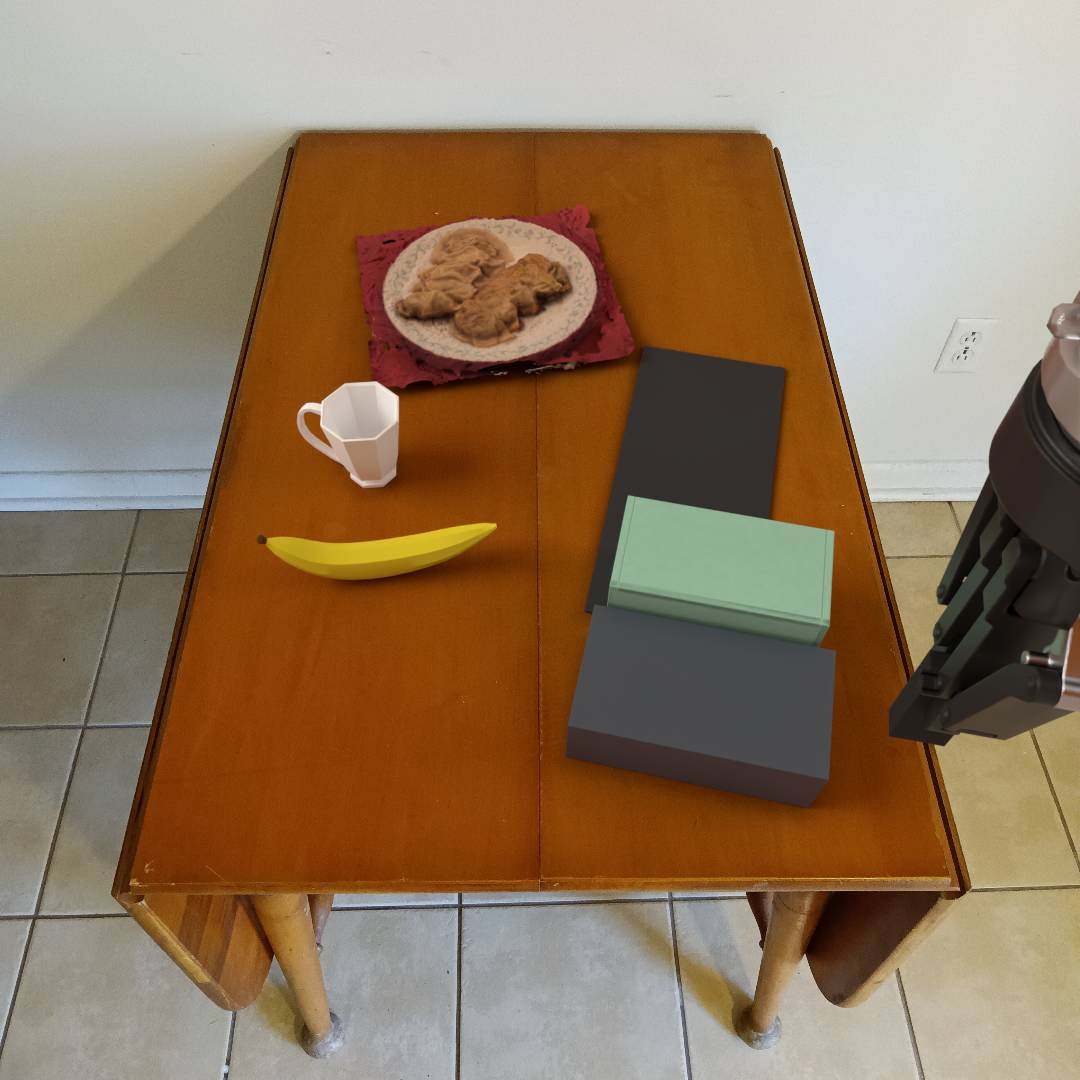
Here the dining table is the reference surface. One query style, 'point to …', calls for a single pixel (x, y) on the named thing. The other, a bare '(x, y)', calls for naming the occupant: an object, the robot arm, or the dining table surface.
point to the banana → (377, 552)
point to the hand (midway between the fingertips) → (916, 727)
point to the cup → (358, 431)
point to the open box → (724, 571)
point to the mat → (694, 443)
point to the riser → (704, 706)
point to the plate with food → (488, 298)
